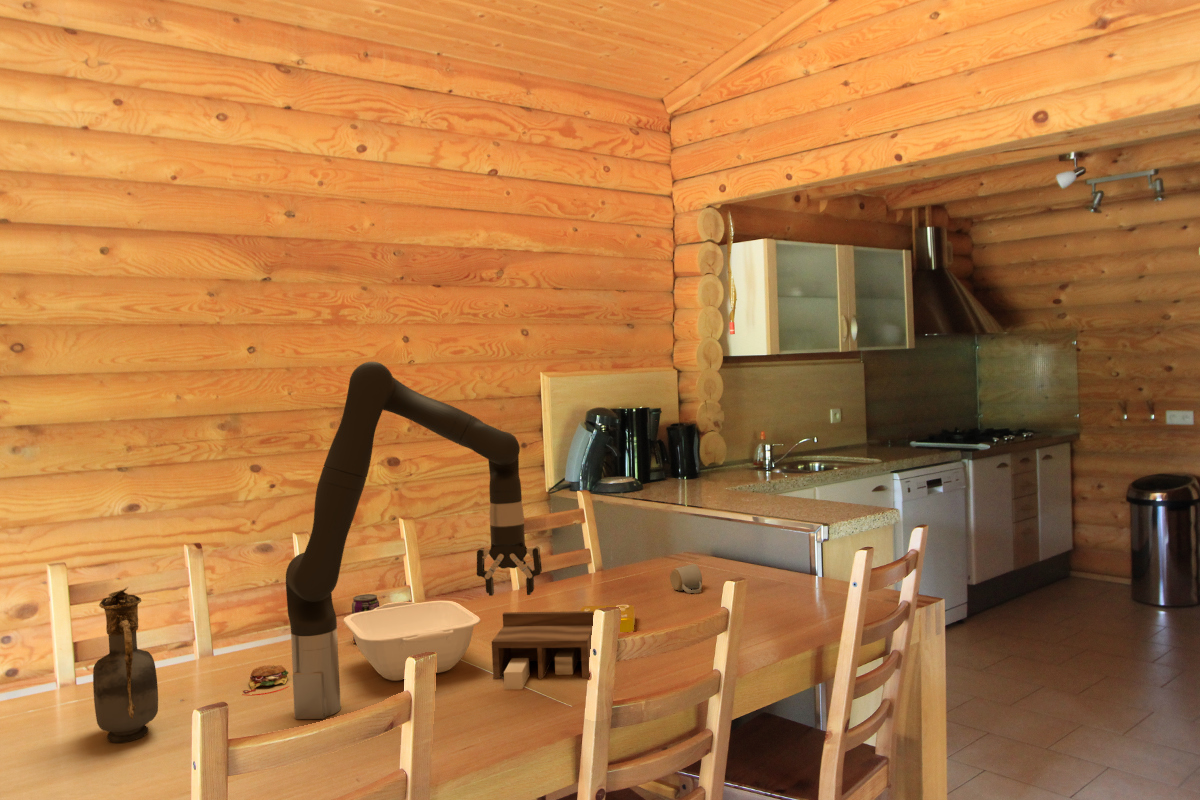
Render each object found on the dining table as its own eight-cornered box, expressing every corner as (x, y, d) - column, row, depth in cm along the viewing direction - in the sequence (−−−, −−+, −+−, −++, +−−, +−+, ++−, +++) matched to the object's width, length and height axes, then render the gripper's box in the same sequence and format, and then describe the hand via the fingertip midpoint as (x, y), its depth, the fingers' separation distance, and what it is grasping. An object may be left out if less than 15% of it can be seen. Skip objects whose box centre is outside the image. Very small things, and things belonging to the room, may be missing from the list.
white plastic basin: (494, 678, 205) (491, 623, 204) (369, 703, 192) (366, 644, 192) (449, 642, 235) (447, 594, 235) (338, 661, 222) (336, 610, 222)
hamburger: (231, 682, 211) (230, 657, 211) (294, 673, 216) (293, 648, 216) (230, 701, 198) (228, 674, 198) (297, 691, 203) (295, 664, 203)
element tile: (581, 621, 252) (581, 604, 252) (635, 619, 251) (634, 602, 251) (577, 636, 237) (577, 618, 237) (634, 634, 236) (633, 616, 236)
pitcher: (153, 717, 188) (145, 576, 188) (165, 746, 172) (157, 592, 172) (93, 730, 182) (85, 584, 182) (101, 761, 166) (92, 601, 166)
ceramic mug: (668, 589, 284) (668, 565, 283) (691, 585, 287) (690, 561, 287) (685, 596, 274) (685, 571, 274) (708, 592, 277) (707, 568, 277)
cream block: (522, 690, 197) (521, 672, 197) (504, 690, 197) (503, 672, 197) (529, 675, 207) (528, 657, 207) (512, 675, 207) (511, 658, 207)
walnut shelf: (588, 678, 202) (586, 627, 202) (493, 678, 204) (491, 628, 204) (595, 658, 216) (593, 611, 216) (505, 659, 218) (503, 612, 218)
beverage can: (373, 645, 234) (371, 600, 234) (348, 645, 236) (346, 600, 235) (385, 637, 241) (383, 593, 241) (361, 637, 243) (358, 593, 242)
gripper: (471, 525, 195) (475, 599, 196) (535, 524, 194) (539, 598, 194) (479, 520, 203) (482, 591, 203) (541, 518, 201) (544, 589, 202)
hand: (510, 594), depth 199 cm, fingers open, 8 cm apart
